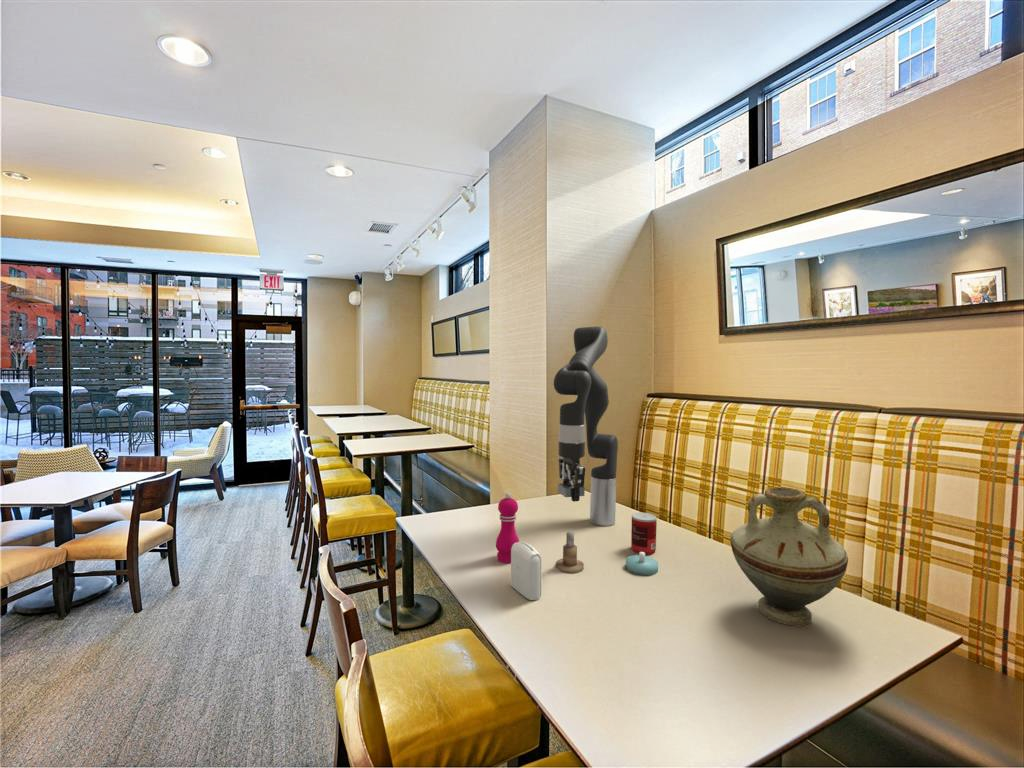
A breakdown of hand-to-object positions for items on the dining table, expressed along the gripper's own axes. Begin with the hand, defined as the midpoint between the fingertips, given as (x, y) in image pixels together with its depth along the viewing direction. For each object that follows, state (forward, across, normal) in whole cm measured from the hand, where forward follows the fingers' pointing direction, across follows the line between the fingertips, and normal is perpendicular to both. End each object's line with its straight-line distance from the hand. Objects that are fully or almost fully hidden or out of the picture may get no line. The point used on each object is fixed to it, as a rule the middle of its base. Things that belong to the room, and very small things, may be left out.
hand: (570, 497), depth 134 cm
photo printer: (+20, +11, -17) cm, 29 cm away
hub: (+20, +6, +20) cm, 29 cm away
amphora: (+21, +37, +39) cm, 58 cm away
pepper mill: (+21, -10, -16) cm, 28 cm away
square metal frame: (-1, 0, 0) cm, 1 cm away
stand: (+20, 0, 0) cm, 20 cm away
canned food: (+21, -6, +28) cm, 35 cm away
